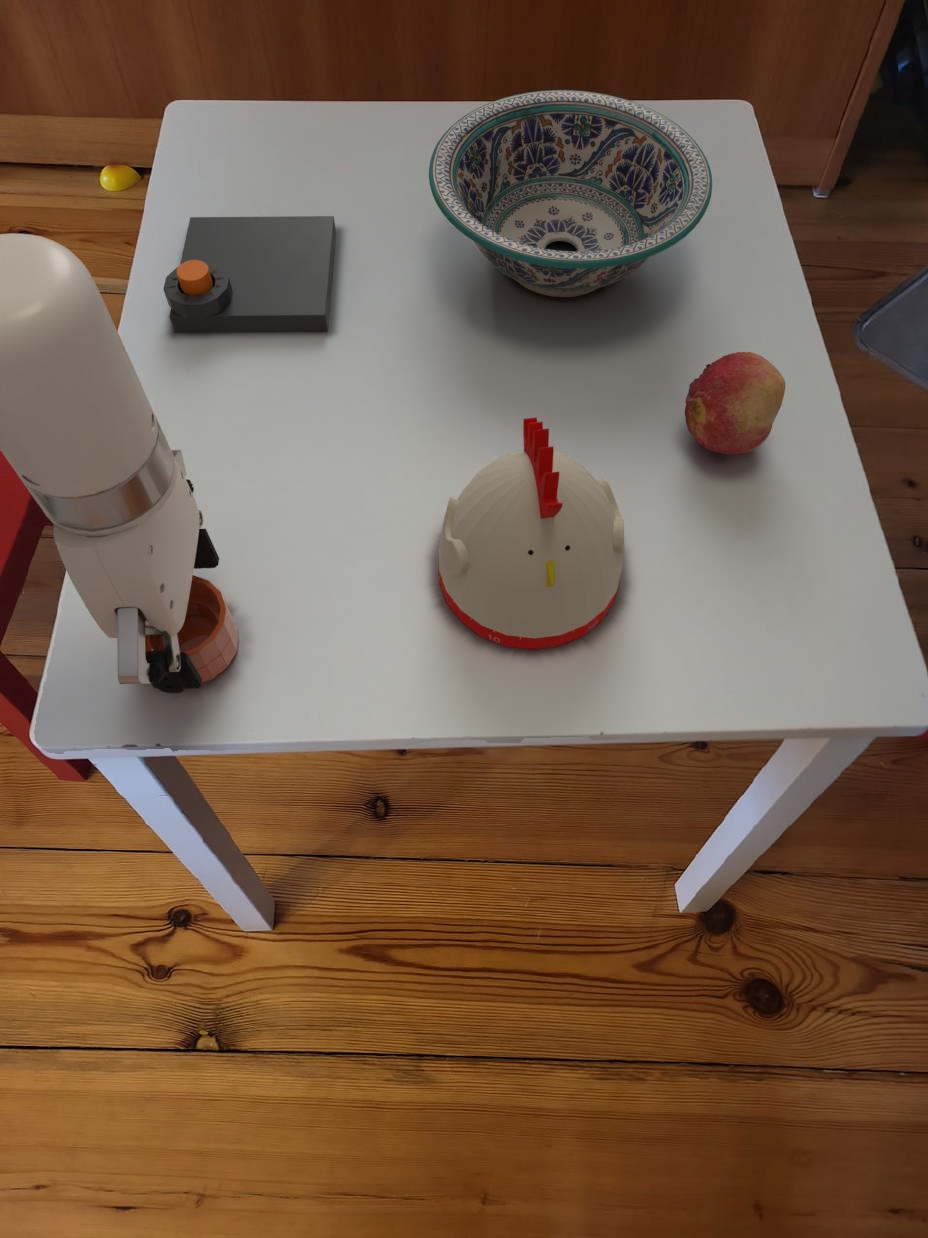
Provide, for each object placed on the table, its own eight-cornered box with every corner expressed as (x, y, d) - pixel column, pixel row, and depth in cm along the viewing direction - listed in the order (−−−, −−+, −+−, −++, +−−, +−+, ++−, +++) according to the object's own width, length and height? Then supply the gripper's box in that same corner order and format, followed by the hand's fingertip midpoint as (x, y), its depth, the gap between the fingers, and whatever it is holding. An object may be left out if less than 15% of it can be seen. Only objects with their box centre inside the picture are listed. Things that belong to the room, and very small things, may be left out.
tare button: (179, 296, 81) (174, 280, 80) (183, 275, 82) (178, 259, 81) (210, 296, 81) (206, 280, 80) (214, 275, 82) (210, 259, 81)
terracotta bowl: (138, 690, 65) (117, 660, 61) (153, 608, 68) (134, 575, 64) (234, 688, 65) (219, 658, 61) (243, 607, 68) (230, 573, 64)
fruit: (730, 490, 74) (758, 422, 67) (656, 440, 77) (675, 370, 70) (785, 438, 77) (817, 368, 70) (711, 391, 80) (735, 319, 73)
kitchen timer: (452, 660, 66) (450, 540, 53) (427, 510, 73) (420, 371, 60) (638, 635, 67) (680, 512, 54) (596, 490, 74) (625, 350, 61)
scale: (170, 335, 83) (159, 304, 80) (191, 233, 90) (182, 201, 87) (327, 334, 83) (322, 303, 80) (336, 232, 90) (331, 200, 87)
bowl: (692, 193, 94) (714, 101, 86) (685, 366, 81) (711, 277, 73) (453, 170, 96) (452, 77, 87) (410, 335, 83) (405, 245, 75)
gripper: (62, 350, 53) (154, 523, 68) (-10, 603, 45) (114, 738, 59) (190, 347, 53) (254, 521, 68) (143, 599, 44) (228, 736, 59)
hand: (189, 622), depth 64 cm, fingers open, 9 cm apart
